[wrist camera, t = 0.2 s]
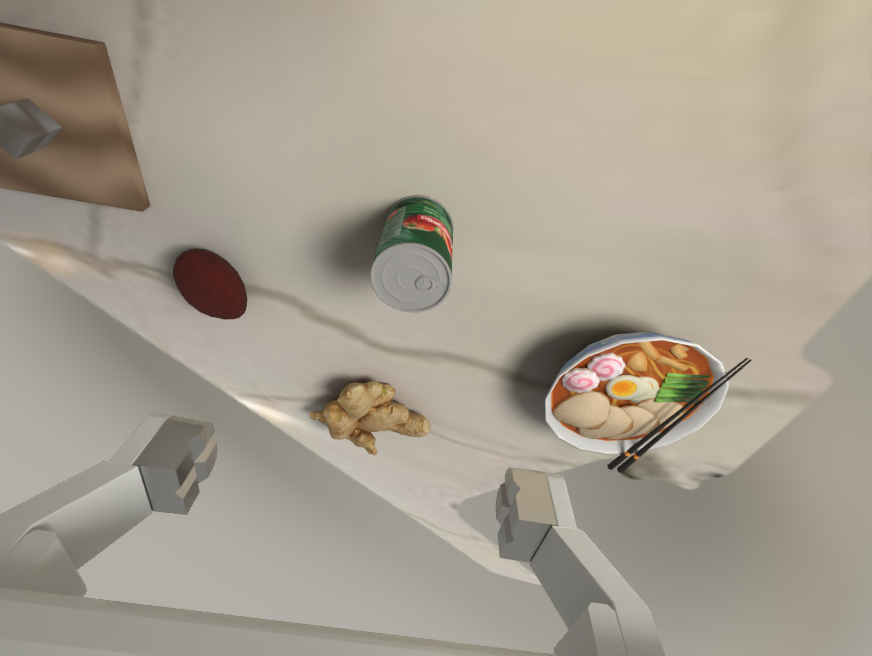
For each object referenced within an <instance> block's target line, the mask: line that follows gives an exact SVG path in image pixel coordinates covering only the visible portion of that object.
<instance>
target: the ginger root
mask: <svg viewBox="0 0 872 656" xmlns="http://www.w3.org/2000/svg"><path fill="white" fill-rule="evenodd" d="M394 395H395V389H394V388H393V387H391V386H390V385H388V384H383V383H379V382H377V381H369V382H366V383H357V382H356V383H350V384H348V385H346V386H345V387H344V389H343V390H342V391H341V393H340V395H339V398H338V399H337V400H335V401H331V402H329V403H328V404H327V405H326V406H325V409H324V410H323V411H318V412H312V413H311V414H310V418H311V419H318V420H319V421H320V422H323V423H325V424H326V425H327V426H328V428H329V431H330V435H331V437H332V438H333V439H344V438H346V439H349V440H350V441H352V442H353V443H354V444H355V445H356V446H358V447H364V448H365V449H366V450H367V451H368V454H372V455H376V453H377V449H376V448H375V440H376V439H375V438H374V436H373V435H372V433H371V432H377V431H381V430H383V431H387V430H391V431H393V432H397V433H399V434H401V435H406V436H410V437H423V436H425V435H427V434H428V433H429V431H430V426H431V425H430V423H429V421H428V419H427V418H425V417H424V416H422V415H419V414H416V413H412V412H409V411H408V409H407V408H406V407H405V406H404V404H398V403H395V402H393V401H391V399H392V398H393V396H394Z"/></svg>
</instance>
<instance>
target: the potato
mask: <svg viewBox="0 0 872 656" xmlns="http://www.w3.org/2000/svg"><path fill="white" fill-rule="evenodd" d="M173 275H174V279H175V282H176V285H177V287H178V289H179V291H180V293H181V294H182V296H183V297H184V298H185V300H186V301H187V302H188V303H189V304H190V305H192V306H193V307H194V308H196V309H197V310H198V311H200V312H201V313H204V314H206V315H208V316H211V317H216V318H221V319H236V318H239V317H240V316H242V315H243V314H244V313H245V311H246V307H247V295H246V291H245V286H244V283H243V282H242V280H241V278H240V276H239V274H238V272H237V271H236V270H235V269H234V268H233V267H232V266H231V265H230V264H229V263H228V262H227V261H226V260H225V259H223V258H222V257H220V256H219V255H217V254H215V253H213V252H210V251H207V250H203V249H192V250H188V251H185V252H183V253H182V254H181V255H180V256H179V257H178V258H177V259H176V261H175V264H174V268H173Z"/></svg>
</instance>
